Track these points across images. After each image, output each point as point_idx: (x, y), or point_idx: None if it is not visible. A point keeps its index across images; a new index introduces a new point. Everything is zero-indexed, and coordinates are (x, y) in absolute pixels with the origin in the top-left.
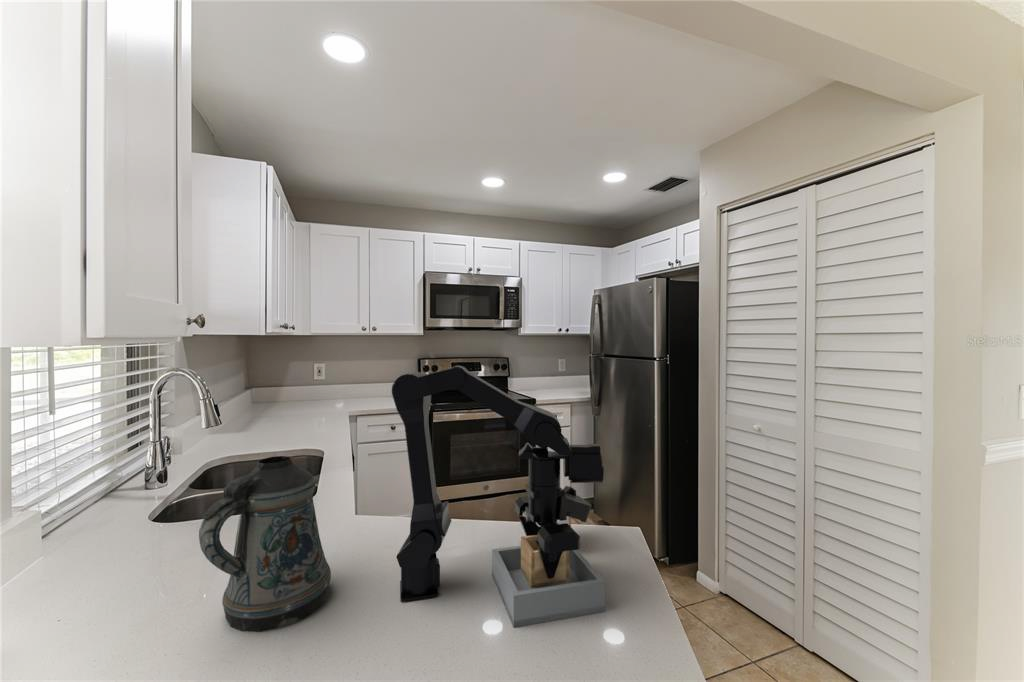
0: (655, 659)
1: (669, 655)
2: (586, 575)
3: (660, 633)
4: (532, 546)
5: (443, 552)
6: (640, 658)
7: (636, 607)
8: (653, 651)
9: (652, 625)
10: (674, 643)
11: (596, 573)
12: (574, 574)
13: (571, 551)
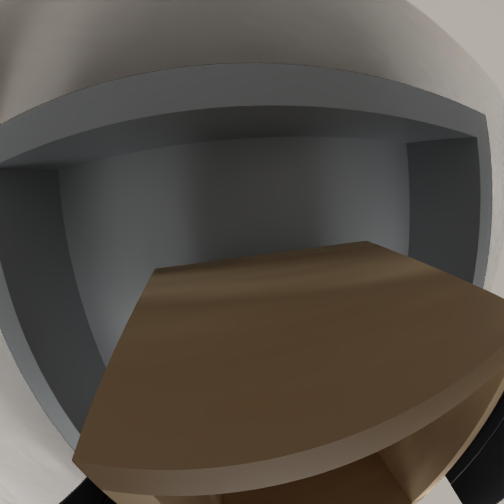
0: (499, 130)
1: (493, 101)
2: (355, 125)
3: (460, 65)
4: (215, 499)
5: (59, 476)
6: (499, 154)
7: (388, 33)
8: (490, 118)
9: (444, 57)
10: (475, 67)
11: (447, 107)
12: (176, 148)
13: (83, 136)
